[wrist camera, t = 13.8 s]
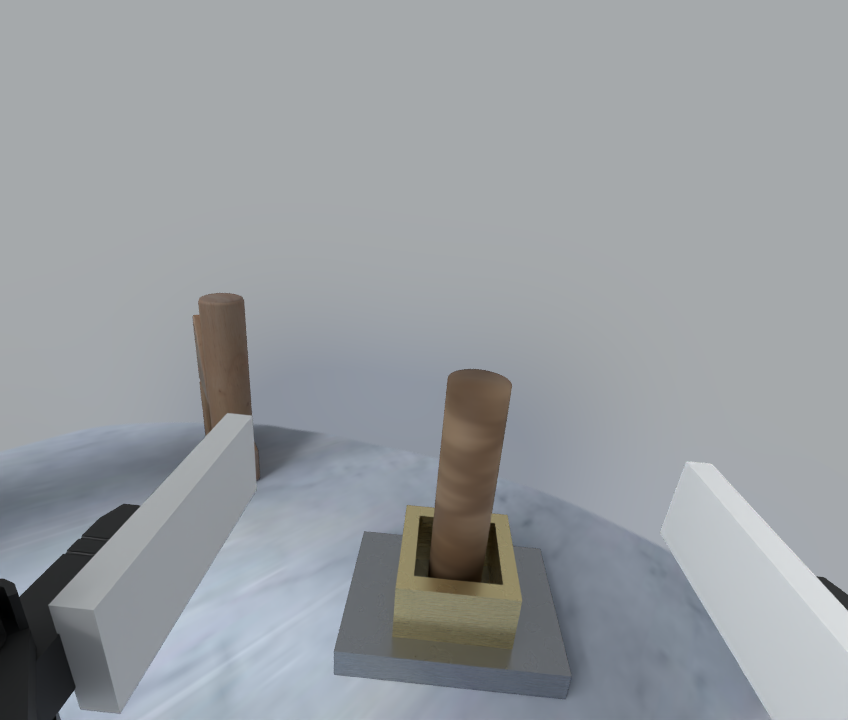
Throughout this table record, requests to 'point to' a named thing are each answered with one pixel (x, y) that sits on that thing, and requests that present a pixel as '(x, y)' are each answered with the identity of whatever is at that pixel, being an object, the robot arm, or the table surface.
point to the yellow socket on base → (452, 617)
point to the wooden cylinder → (468, 472)
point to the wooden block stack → (223, 359)
